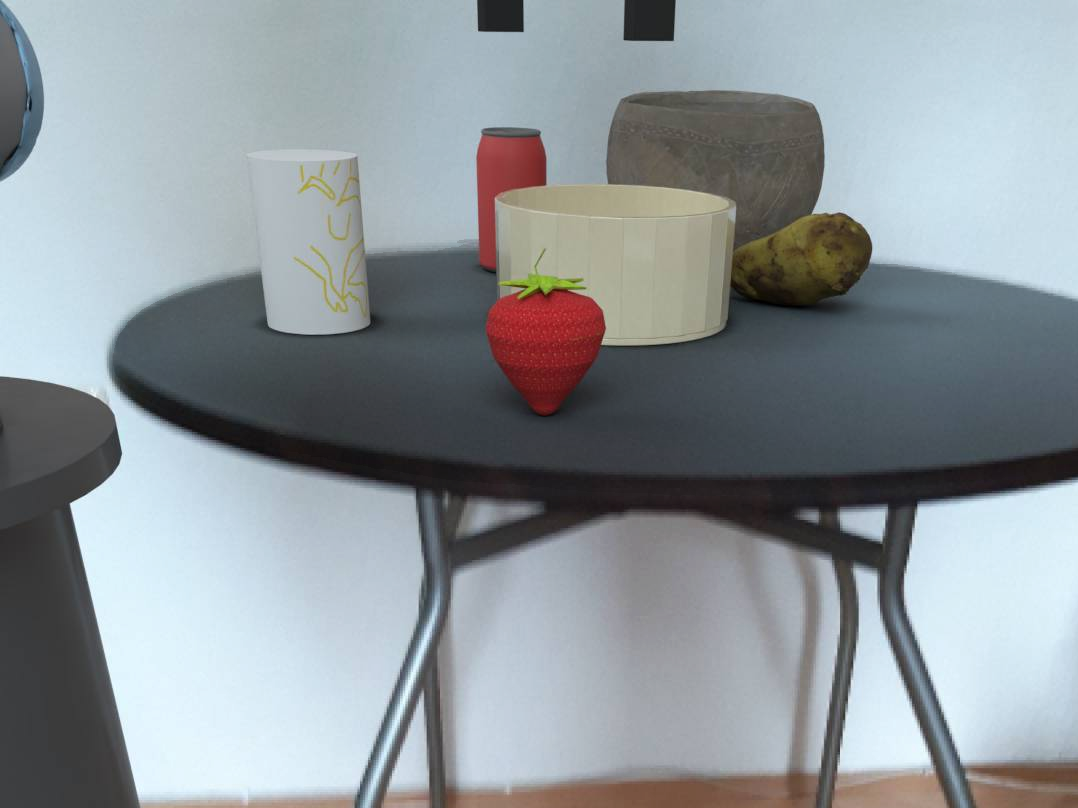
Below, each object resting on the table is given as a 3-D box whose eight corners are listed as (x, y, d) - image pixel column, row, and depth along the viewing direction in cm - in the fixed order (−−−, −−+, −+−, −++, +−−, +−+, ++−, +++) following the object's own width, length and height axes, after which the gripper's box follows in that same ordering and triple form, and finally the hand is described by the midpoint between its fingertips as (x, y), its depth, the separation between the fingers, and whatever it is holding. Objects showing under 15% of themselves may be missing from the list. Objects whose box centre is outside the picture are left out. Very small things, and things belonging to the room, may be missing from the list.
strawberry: (616, 425, 75) (621, 253, 69) (499, 433, 73) (495, 256, 68) (589, 399, 80) (592, 236, 74) (478, 406, 78) (473, 239, 72)
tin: (599, 357, 89) (602, 225, 84) (453, 311, 101) (448, 193, 96) (774, 325, 100) (786, 206, 95) (623, 286, 112) (626, 178, 107)
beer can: (466, 267, 117) (461, 128, 111) (518, 260, 121) (516, 125, 114) (507, 278, 113) (505, 134, 107) (560, 270, 117) (561, 131, 110)
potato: (785, 290, 112) (795, 195, 107) (878, 318, 103) (893, 216, 98) (713, 298, 108) (720, 200, 103) (803, 328, 99) (815, 222, 94)
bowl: (755, 298, 108) (772, 108, 100) (564, 270, 117) (565, 94, 109) (843, 265, 123) (864, 97, 115) (668, 242, 132) (676, 85, 124)
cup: (322, 339, 92) (304, 163, 85) (246, 324, 95) (223, 154, 88) (391, 320, 97) (379, 155, 91) (316, 307, 101) (300, 146, 94)
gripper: (837, -592, 47) (780, 45, 59) (491, -447, 63) (501, 29, 75) (694, -649, 43) (663, 45, 55) (364, -479, 59) (396, 28, 71)
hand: (569, 37), depth 65 cm, fingers open, 13 cm apart
